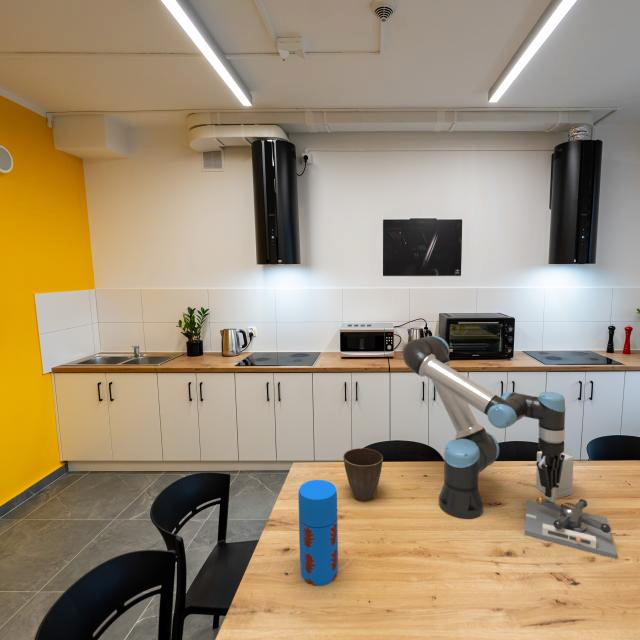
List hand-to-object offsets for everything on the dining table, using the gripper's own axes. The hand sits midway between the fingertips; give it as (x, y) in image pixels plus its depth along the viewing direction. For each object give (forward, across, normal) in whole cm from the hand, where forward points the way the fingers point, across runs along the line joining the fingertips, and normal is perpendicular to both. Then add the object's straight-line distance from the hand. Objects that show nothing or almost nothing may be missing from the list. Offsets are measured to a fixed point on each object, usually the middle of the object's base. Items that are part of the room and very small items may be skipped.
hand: (549, 504), depth 135 cm
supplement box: (+6, -18, -9) cm, 21 cm away
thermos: (+2, +80, -19) cm, 83 cm away
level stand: (+5, 0, +6) cm, 8 cm away
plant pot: (+3, +46, -45) cm, 64 cm away
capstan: (+3, +1, +7) cm, 8 cm away
